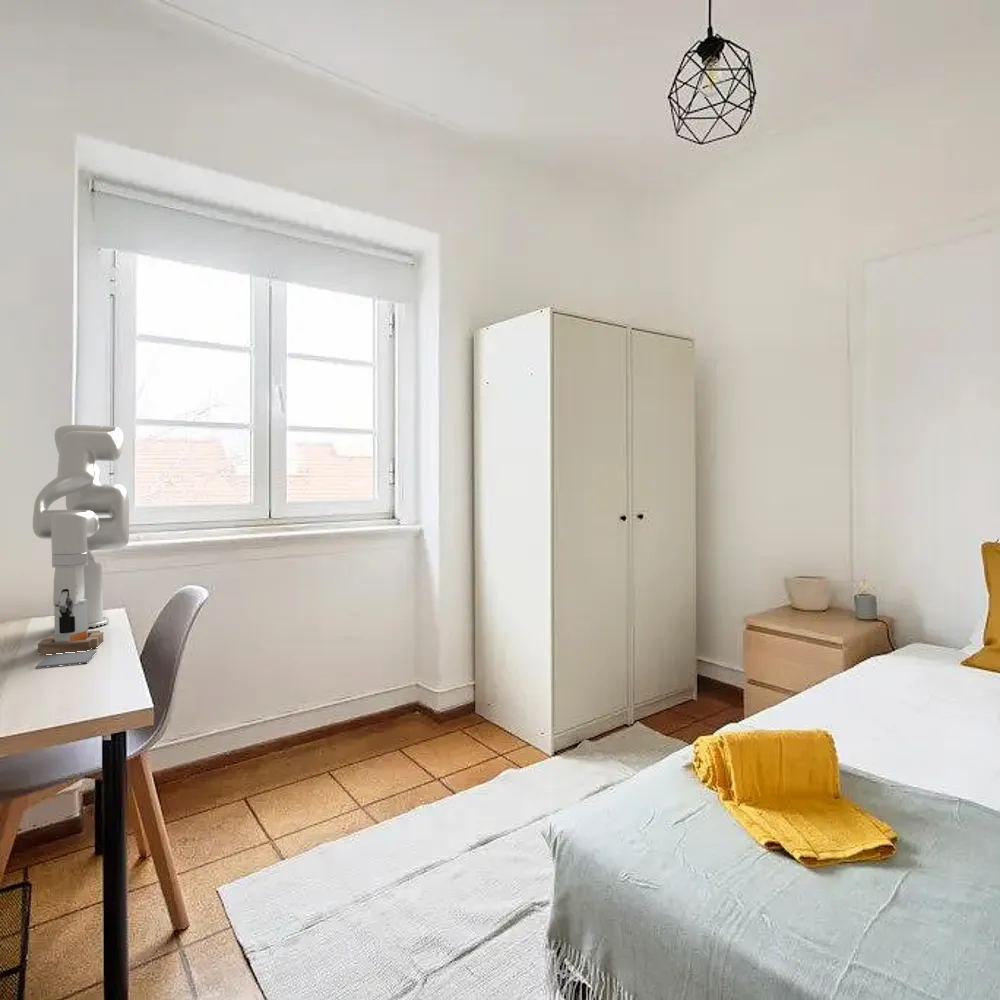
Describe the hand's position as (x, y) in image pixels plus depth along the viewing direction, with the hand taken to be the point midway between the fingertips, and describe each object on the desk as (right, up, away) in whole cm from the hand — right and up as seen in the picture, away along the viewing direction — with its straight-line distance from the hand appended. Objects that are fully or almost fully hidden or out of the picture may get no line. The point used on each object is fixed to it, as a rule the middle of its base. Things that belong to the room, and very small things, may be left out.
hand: (71, 628), depth 159 cm
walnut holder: (0, -5, 0) cm, 5 cm away
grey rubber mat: (+7, -5, -11) cm, 14 cm away
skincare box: (0, -5, 0) cm, 5 cm away
